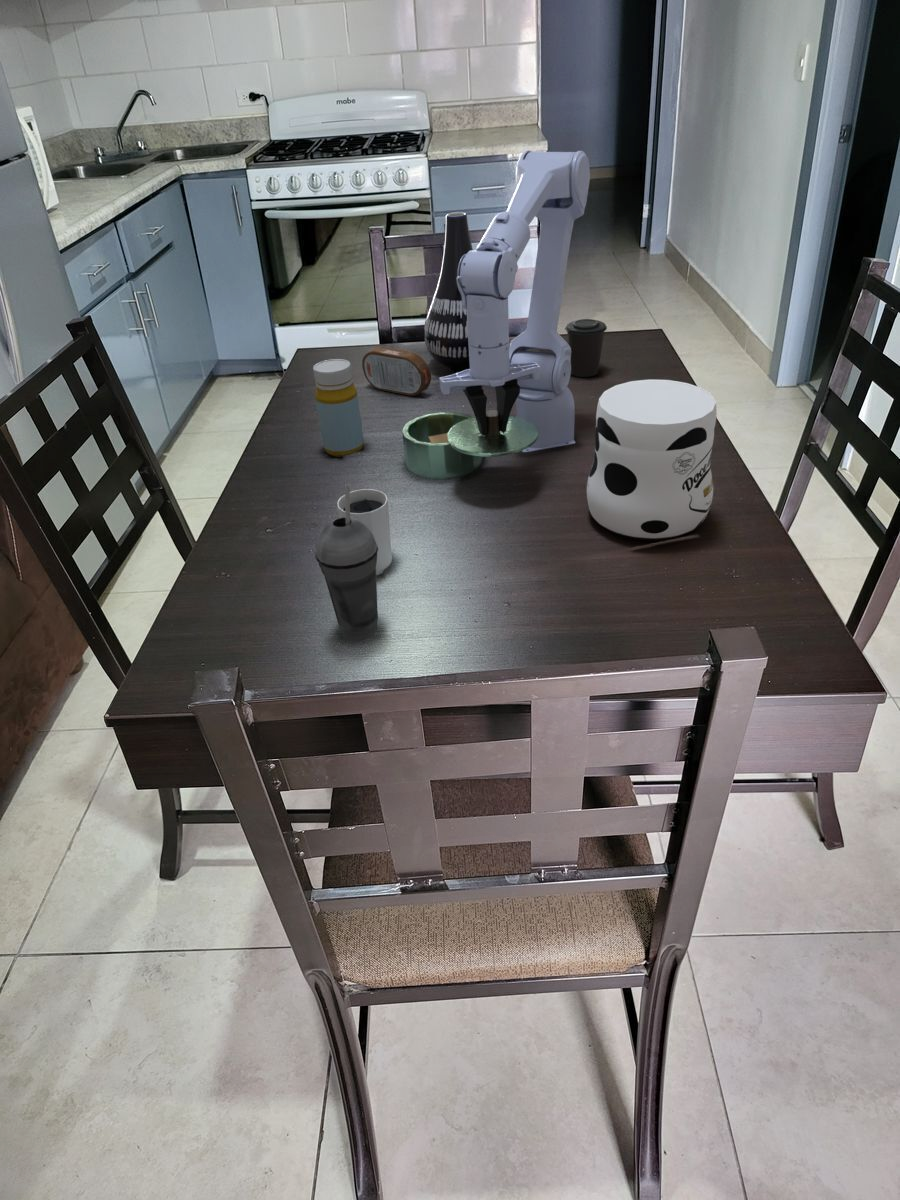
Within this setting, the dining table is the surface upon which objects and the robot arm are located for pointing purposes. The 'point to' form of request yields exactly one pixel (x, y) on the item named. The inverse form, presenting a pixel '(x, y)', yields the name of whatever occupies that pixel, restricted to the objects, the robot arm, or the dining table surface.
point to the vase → (450, 301)
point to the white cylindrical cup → (372, 520)
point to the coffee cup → (585, 346)
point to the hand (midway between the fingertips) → (492, 431)
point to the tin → (396, 370)
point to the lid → (492, 436)
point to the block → (438, 438)
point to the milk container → (652, 459)
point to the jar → (436, 447)
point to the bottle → (338, 407)
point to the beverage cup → (350, 573)
